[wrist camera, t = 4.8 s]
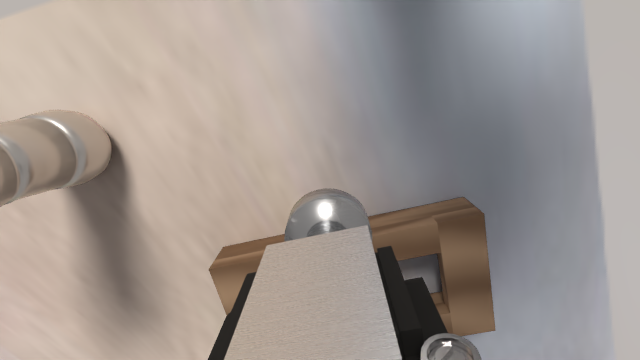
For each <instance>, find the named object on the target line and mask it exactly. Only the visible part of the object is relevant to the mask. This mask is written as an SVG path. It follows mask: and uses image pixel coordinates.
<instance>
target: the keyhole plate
mask: <svg viewBox="0 0 640 360" xmlns="http://www.w3.org/2000/svg"><path fill="white" fill-rule="evenodd" d="M368 220H369V223H370V227H371V231H372V245H373V249H374V253H376V252H377V248H381V247H387V246H392V249H393V252H394V254H395V257H396V260H397V261H400V260H405V259H410V258H415V257H420V256H425V255H431V254H436V253H437V256H438V263H439V269H440V276H441V283H442V289H443V291H442V292H436V293H431V294H430V295H431V297H432V299H433V301H434V304H435V306H436V308H437V310H438V312H439V314H440V316H441V319H442V321H443V323H444V325H445V327H446V329H447V332H448V333H449V334H455V335H458V336H465V335H471V334H477V333H483V332H489V331H495V322H494V312H493V301H492V291H491V280H490V270H489V260H488V249H487V239H486V229H485V218H484V213H483V212H481V211H480V210H479V209H478V208H477V207H475V206H474V205H473V204H472V203H470V202H469V201H468V200H467V199H466V198H464V197H461V198H456V199H451V200H446V201H441V202H437V203H432V204H427V205H422V206H417V207H413V208H408V209H403V210H398V211H393V212H389V213H384V214H379V215H374V216H369V217H368ZM284 237H285V234H283V235H278V236H274V237H269V238H264V239H259V240H254V241H250V242H245V243H240V244H235V245H230V246H226V247H223V248H222V250H221V251H220V253H219V254H218V256H217V258H216V259H215V261H214V262H213V264H212V265H211V267H210V268H209V271H210V274H211V276H212V279H213V281H214V284H215V287H216V289H217V292H218V294H219V297H220V299H221V302H222V304H223V307H224V309H225V312H226V315H228V313H230V312H231V310H232V308H233V306H234V303H235V301H236V298H237V296H238V294H239V291H240V289H241V287H242V284H243V282H244V279H245V277H246V275H247V274H248V273H253V272H257V270H258V267H259V265H260V262H261V259H262V257H263V254H264V251H265V249H266V246H267V245H271V244H276V243H281V242H285V240H284Z"/></svg>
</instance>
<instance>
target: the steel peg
mask: <svg viewBox="0 0 640 360" xmlns="http://www.w3.org/2000/svg"><path fill="white" fill-rule="evenodd" d="M284 240H285V242H281V243H276V244H271V245H267V246H266V249H265V251H264V254H263V257H262V259H261V262H260V265H259V267H258V270H257V273H256V275H255V278H254V281H253V283H252V286H251V289H250V292H249V294H248V297H247V300H246V302H245V305H244V308H243V310H242V313H241V316H240V318H239V321H238V324H237V326H236V329H235V332H234V334H233V337H232V340H231V342H230V345H229V348H228V350H227V353H226V356H225V358H224V360H402V357H401V354H400V350H399V346H398V342H397V338H396V334H395V330H394V326H393V322H392V319H391V315H390V311H389V307H388V303H387V299H386V295H385V291H384V288H383V284H382V280H381V276H380V272H379V268H378V264H377V260H376V256H375V253H374V249H373V245H372V231H371V227H370V223H369V220H368V216H367V213H366V211H365V209H364V207H363V206H362V204H361V203H360V202H359V201H358V200H357V199H356V198H355V197H353V196H352V195H350V194H348V193H346V192H344V191H341V190H337V189H320V190H316V191H313V192H310V193H308V194H306V195H305V196H303V197H302V198H301V199H300V200H299V201H298V202H297V203H296V204H295V205H294V207H293V209H292V210H291V213H290V216H289V219H288V223H287V226H286V230H285V237H284Z"/></svg>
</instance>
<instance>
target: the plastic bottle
mask: <svg viewBox="0 0 640 360" xmlns="http://www.w3.org/2000/svg"><path fill="white" fill-rule="evenodd" d="M111 151H112V147H111V142H110V139H109V137H108V135H107V133H106V131H105V130H104V129H103V128H102V127H101V126H100V125H99V124H98V123H97V122H96V121H94V120H93V119H91V118H90V117H88V116H86V115H84V114H81V113H78V112H74V111H64V110H48V111H43V112H39V113H35V114H31V115H28V116H25V117H23V118H20V119H17V120H12V121H7V122H2V123H0V207H1V206H3V205H5V204H8V203H11V202H13V201H15V200H18V199H21V198H25V197H28V196H32V195H35V194H39V193H42V192H46V191H50V190H54V189H61V188H67V187H72V186H76V185H80V184H83V183H86V182H88V181H90V180H91V179H93V178H94V177H96V176H97V175H99V174H100V173H102V172H103V171H104V170H105V169H106V167H107V166H108V164H109V162H110V158H111Z"/></svg>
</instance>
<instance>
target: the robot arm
mask: <svg viewBox="0 0 640 360" xmlns="http://www.w3.org/2000/svg"><path fill="white" fill-rule="evenodd" d="M375 256H376V260H377V264H378V268H379V272H380V276H381V280H382V284H383V288H384V291H385V295H386V299H387V303H388V307H389V311H390V315H391V319H392V322H393V326H394V330H395V334H396V338H397V342H398V346H399V350H400V354H401V357H402V360H481V357H480V354H479V352H478V350H477V348H476V347H475V346H474V345H473V344H472V343H471V342H470V341H468V340H467V339H465V338H463V337H461V336H458V335H455V334H449V333H448V332H447V329H446V327H445V325H444V323H443V321H442V319H441V316H440V314H439V312H438V310H437V308H436V306H435V304H434V301H433V299H432V297H431V295H430V293H429V291H428V288H427V286H426V284H425V282H424V280H423V278H422V277H420V278H415V279H409V280H404V279H403V276H402V273H401V271H400V268H399V265H398V262H397V260H396V257H395V254H394V252H393V249H392V246H387V247H381V248H377V252H376V253H375ZM256 273H257V272H253V273H248V274H247V275H246V277H245V279H244V282H243V284H242V287H241V289H240V291H239V294H238V296H237V298H236V301H235V303H234V306H233V308H232V310H231V312H230V313H228V315H227V316H226V319H225V321H224V323H223V326H222V328H221V330H220V333H219V335H218V337H217V339H216V342H215V344H214V346H213V349H212V351H211V353H210V356H209V358H208V360H224V358H225V356H226V353H227V350H228V348H229V345H230V342H231V340H232V337H233V334H234V332H235V329H236V326H237V324H238V321H239V318H240V316H241V313H242V310H243V308H244V305H245V302H246V300H247V297H248V294H249V292H250V289H251V286H252V283H253V281H254V278H255V275H256Z"/></svg>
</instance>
